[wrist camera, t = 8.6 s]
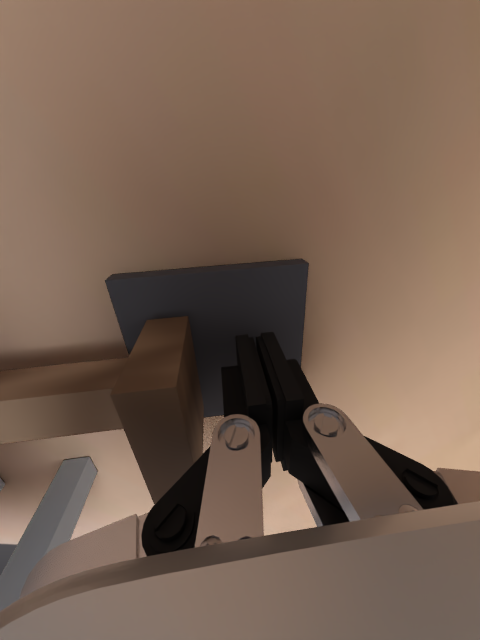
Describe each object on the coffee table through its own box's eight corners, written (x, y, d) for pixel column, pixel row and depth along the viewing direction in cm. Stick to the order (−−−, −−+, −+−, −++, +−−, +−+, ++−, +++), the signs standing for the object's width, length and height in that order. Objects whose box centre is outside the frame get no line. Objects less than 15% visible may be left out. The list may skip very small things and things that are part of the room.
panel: (301, 258, 11) (308, 263, 10) (293, 395, 14) (297, 405, 14) (112, 274, 10) (105, 280, 9) (154, 412, 14) (151, 424, 13)
